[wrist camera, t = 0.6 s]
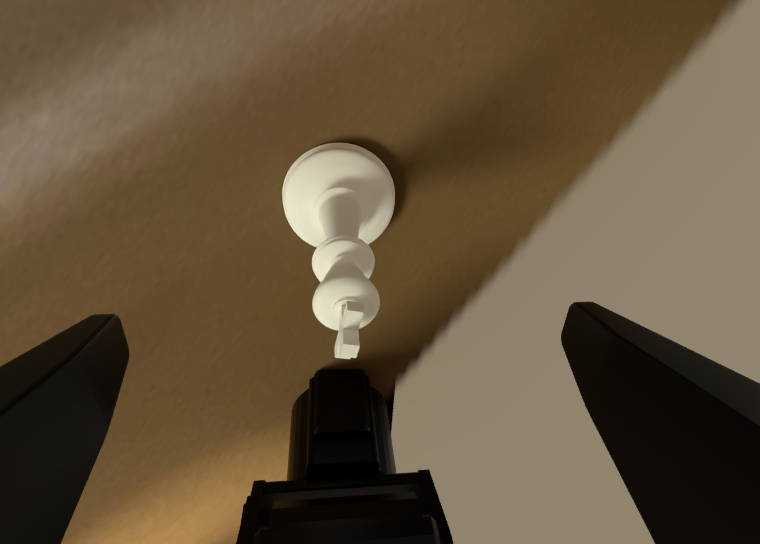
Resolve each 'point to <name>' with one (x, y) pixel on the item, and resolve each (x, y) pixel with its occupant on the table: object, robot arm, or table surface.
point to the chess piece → (341, 231)
